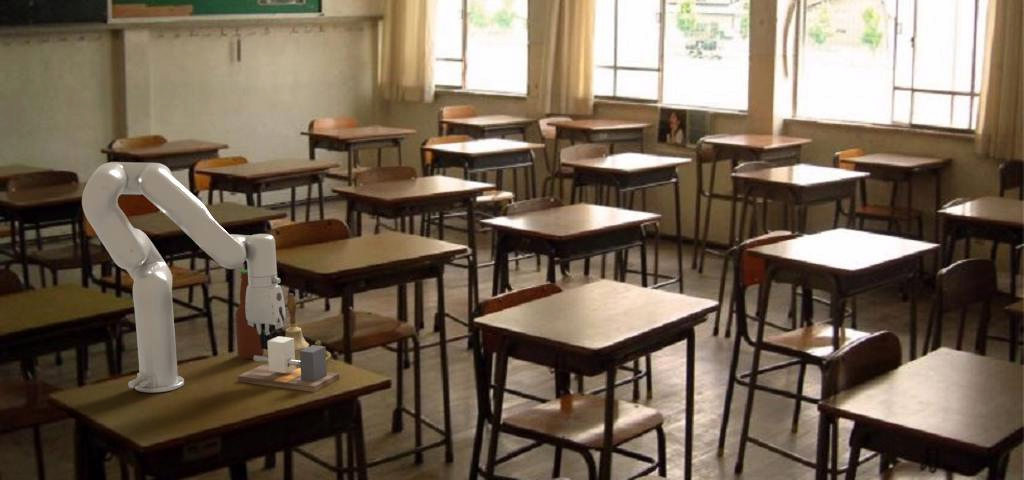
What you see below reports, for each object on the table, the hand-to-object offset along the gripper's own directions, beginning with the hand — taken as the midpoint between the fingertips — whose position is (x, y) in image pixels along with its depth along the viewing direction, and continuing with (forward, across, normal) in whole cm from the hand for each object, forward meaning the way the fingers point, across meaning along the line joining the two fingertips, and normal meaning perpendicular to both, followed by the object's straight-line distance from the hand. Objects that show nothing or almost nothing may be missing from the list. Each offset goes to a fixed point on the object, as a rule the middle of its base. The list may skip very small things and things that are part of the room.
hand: (267, 347), depth 333 cm
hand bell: (+8, +10, -28) cm, 31 cm away
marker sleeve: (+5, -5, 0) cm, 7 cm away
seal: (+9, -2, -19) cm, 21 cm away
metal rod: (+4, -4, 0) cm, 6 cm away
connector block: (+7, -15, 0) cm, 16 cm away
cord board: (+8, -6, 0) cm, 10 cm away
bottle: (+8, +16, -15) cm, 24 cm away
